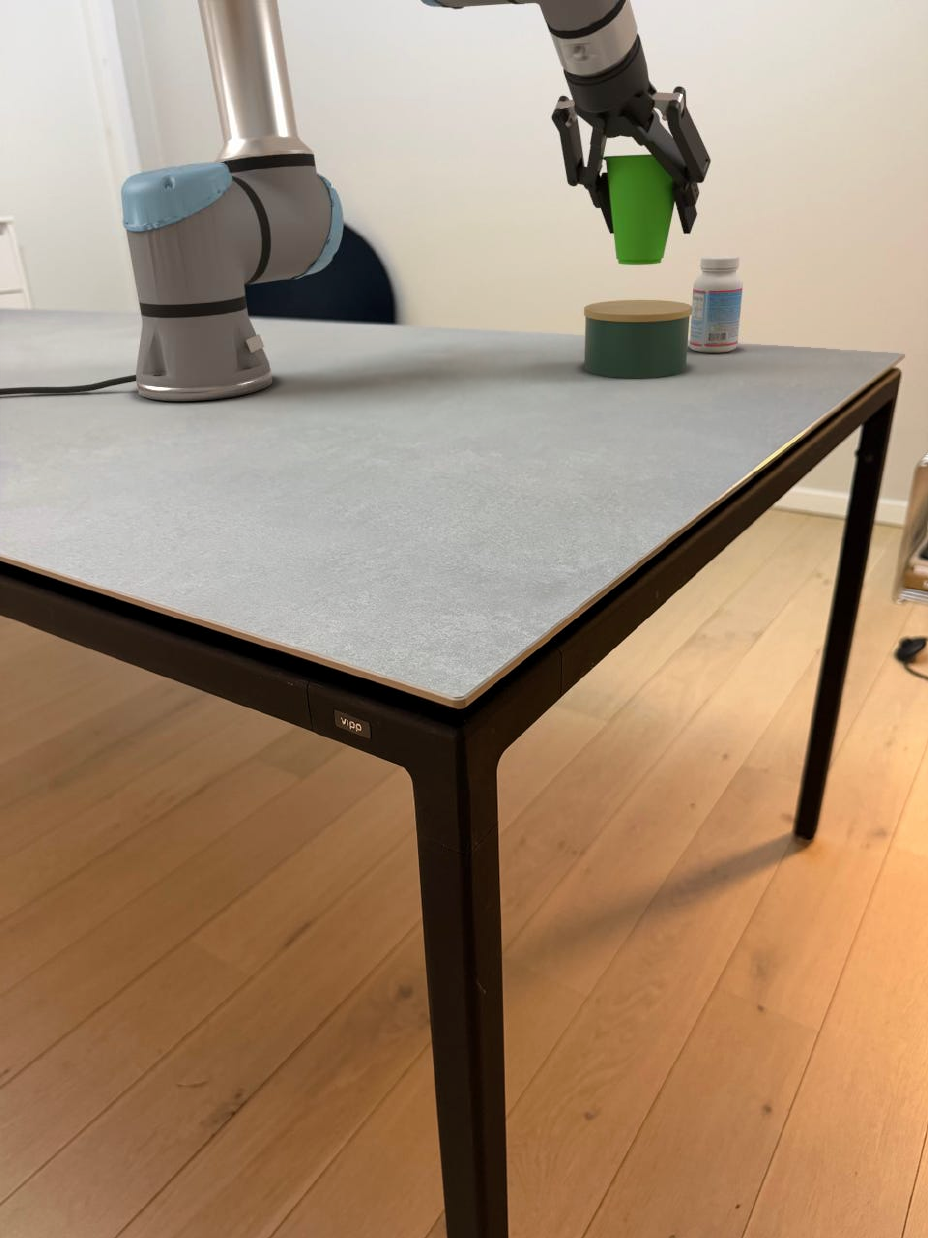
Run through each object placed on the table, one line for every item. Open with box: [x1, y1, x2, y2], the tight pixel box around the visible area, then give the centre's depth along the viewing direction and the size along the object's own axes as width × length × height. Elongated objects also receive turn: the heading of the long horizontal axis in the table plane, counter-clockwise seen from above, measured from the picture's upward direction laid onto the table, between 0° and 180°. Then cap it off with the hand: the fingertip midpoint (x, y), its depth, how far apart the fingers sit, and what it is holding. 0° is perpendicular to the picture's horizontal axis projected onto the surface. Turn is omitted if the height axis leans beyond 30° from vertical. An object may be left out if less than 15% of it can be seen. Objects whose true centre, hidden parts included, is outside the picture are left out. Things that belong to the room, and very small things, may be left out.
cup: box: [603, 153, 676, 266], centre depth 103 cm, size 9×9×11 cm
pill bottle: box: [689, 254, 744, 354], centre depth 117 cm, size 6×6×11 cm
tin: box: [583, 299, 692, 379], centre depth 109 cm, size 12×12×7 cm
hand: (652, 223), depth 106 cm, fingers closed on cup, 8 cm apart
